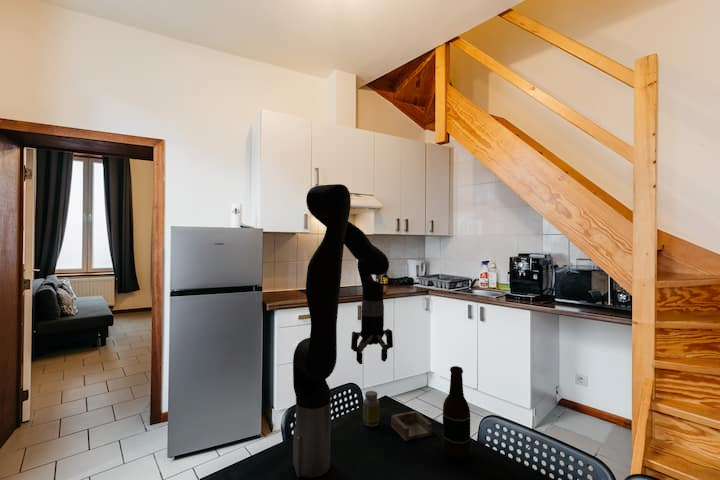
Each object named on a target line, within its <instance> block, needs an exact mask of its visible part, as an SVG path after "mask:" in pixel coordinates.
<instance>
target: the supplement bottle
mask: <svg viewBox="0 0 720 480" xmlns="http://www.w3.org/2000/svg"><path fill="white" fill-rule="evenodd" d="M364 396H365V398H364V399H363V402H362V403H363V405H362V423H363V425H365V426H367V427H376V426H378V425H379V423H380V400H379V399H378V392H377V391H374V390H368V391H366V392H365V394H364Z"/></svg>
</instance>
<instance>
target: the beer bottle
mask: <svg viewBox="0 0 720 480" xmlns="http://www.w3.org/2000/svg"><path fill="white" fill-rule="evenodd" d="M449 371H450V379H449V380H450V381H449V383H450V384H449V392H448V395H446V398H445V399H444V401H443V404H442V448H443V452H444V455H446V456H447V457H449V458H451V459H453V460H465V459H466V458H468V457H470V454H471V409H470V406H469V403H468V401H467V399H466V398H465V395H464V385H463V384H464V381H463V374H464V370H463V368H462V367H461V366H458V365H453V366H451V367H449Z"/></svg>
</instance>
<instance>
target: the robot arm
mask: <svg viewBox="0 0 720 480" xmlns="http://www.w3.org/2000/svg"><path fill="white" fill-rule="evenodd" d="M305 198H306V199H305V201H306V207H307V209H308V211H309V212H310V214H311V215H312V216H313V217H314V218H315V219H316V220H317V221H318V222H320V223H321V224H322V225H323V226H324V227H326V229H325V233H324V236H323V238H322V240H321V242H320V244H319V245H318V247H317V248H316V250H315V251H314V253H313V255H312V256H311V258H310V260H309V262H308V265H307V269H306V270H307V271H306V279H305V296H306V297H305V298H306V301H307V307H308V312H309V313H308V314H309V317H310V318H309V319H310V332H309V333H310V334H309V337H305V338H304V339H302V340H301V341H299V343H298V344H297V346H296V347H295V349H294V352H293V356H292V357H293V358H292V378H293V379H292V380H293V381H292V382H293V384H292V385H293V391H294V394H295V427H294V428H293V439H292V444H293V446H292V447H293V449H292V451H293V455H292V466H293V467H294V470H295V474H296V476H297V478H301V477H302V478H303V477H304V478H310V479H311V478H317V477H321V476H323V475H324V474H327V472H328V471H329V470H330V467H331V424H332V423H331V421H332V420H331V419H332V418H331V417H332V413H331V411H332V406H331V405H332V392H331V391H332V390H331V389H330V387H329V385H328V382H327V379H328V378H329V377H330V376H331V375H332V373H333V371H335V368H336V364H337V357H338V351H337V350H338V347H337V346H338V345H337V342H338V341H337V340H338V338H337V335H338V334H337V331H338V330H337V323H338V315H339V301H340V300H339V299H340V293H341V292H340V290H341V282H342V269H343V257H344V249H345V247H346V249H347V250H348V251H349V252H350V254H351V255H352V256H353V257H354V258H355V259H356V260H358V261H357V270H358V275H359V278H360V282H361V287H362V290H361V291H362V292H361V293H362V295H361V296H362V300H361V308H360V314H361V320H360V321H361V323H360V324H361V326H360V329H361V330H360V332H356V331H352V333H351V342H350V343H351V344H350V349H351V350H352V351H353V352H356V357H355V358H356V362H357V364H359V365H363V352H364V350H365V349H366V347H367V346H368V345H369V346H370V345H371V346H372V345H380V347H381V348H382V349H381V350H380V353H381V354H380V356H381V357H380V358H381V361H382V362H384V363H385V362H386V361H387V360H388V350H389V349H392V348H393V347H394V340H393V339H394V338H393V331H392V330H391V329H389V328H386V329H384V326H385V318H384V317H385V313H384V312H385V304H384V285H383V283H382V282H379V281H377V280H374V278H373V276H374V275H375V276H383V275H385V274H387V272H388V271H389V270H390V269H389V268H390V261H389V258H388V256H387V255H386V254H385V252H383V251H382V250H380V248H378V247H377V246H375V245H373V244H372V242H371V241H370V239H369V238H368V236H367V234H366V233H364V231H363V230H361V229H360V228H359V227H358V226H357V225H355V224H354V223H352V222H350V221H349V219H350V213H351V206H352V205H351V202H352V201H351V200H352V198H351V194H350V190H349V188H348V187H347V186H346V185H344V184H340V183H339V184H338V183H337V184H336V183H335V184H320V185H315V186H313V187H311V188H310V189H309V190H308V191H307V194H306V197H305ZM344 246H345V247H344ZM360 337H361V340H360V341H359V342H358V340H359V339H360ZM384 337H385V339H386V340H384V339H383V338H384ZM385 342H386V343H385ZM358 343H359V344H358Z"/></svg>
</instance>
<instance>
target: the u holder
mask: <svg viewBox="0 0 720 480" xmlns="http://www.w3.org/2000/svg"><path fill="white" fill-rule="evenodd" d="M390 417H391V420H390V421H391V422H390V424H391V425H390V426H391V428H392V429H393V430H395V431H396V433H397V434H398V435H399V436H400V438H402V439H403V440H404V441H405V442H407V441H412V440H416V439H419V438H424V437H425V438H426V437H429V436H433V423H432V422H431V421H430V420H429V419H427V418H426V417H424V416H423V415H422V414H421V413H420V412H418V410H413V411H412V410H411V411H407V412H406V411H405V412H401V413H396V414H391V415H390Z"/></svg>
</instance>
